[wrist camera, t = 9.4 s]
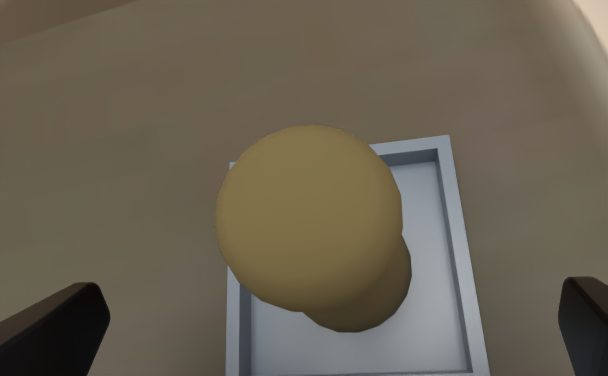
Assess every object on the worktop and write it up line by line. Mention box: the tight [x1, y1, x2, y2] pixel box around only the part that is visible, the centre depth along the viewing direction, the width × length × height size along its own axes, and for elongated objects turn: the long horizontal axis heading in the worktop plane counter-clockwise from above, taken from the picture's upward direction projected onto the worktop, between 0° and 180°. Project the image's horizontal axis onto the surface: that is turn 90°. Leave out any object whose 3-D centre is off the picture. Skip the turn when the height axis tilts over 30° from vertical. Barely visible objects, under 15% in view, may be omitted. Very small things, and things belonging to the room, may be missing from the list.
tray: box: [226, 135, 490, 376], centre depth 20 cm, size 11×11×2 cm
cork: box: [214, 124, 412, 333], centre depth 15 cm, size 6×6×11 cm
